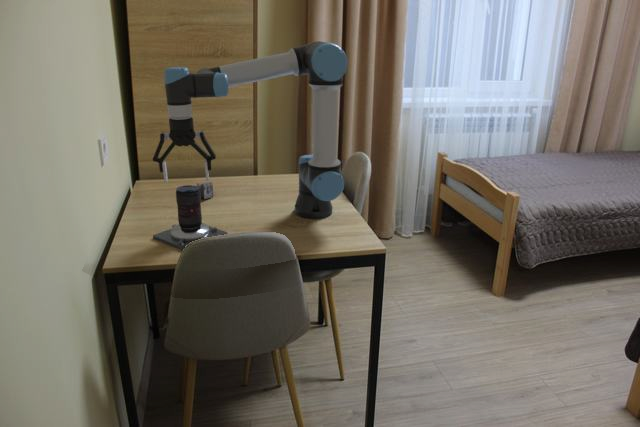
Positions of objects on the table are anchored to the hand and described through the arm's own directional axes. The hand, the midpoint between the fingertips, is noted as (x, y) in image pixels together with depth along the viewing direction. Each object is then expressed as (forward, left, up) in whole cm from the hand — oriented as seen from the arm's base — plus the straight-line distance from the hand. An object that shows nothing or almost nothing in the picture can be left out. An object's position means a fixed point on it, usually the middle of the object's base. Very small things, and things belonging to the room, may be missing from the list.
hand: (187, 180), depth 172 cm
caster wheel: (+31, -32, -21) cm, 49 cm away
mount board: (0, 0, -21) cm, 21 cm away
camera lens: (0, 0, -18) cm, 18 cm away
